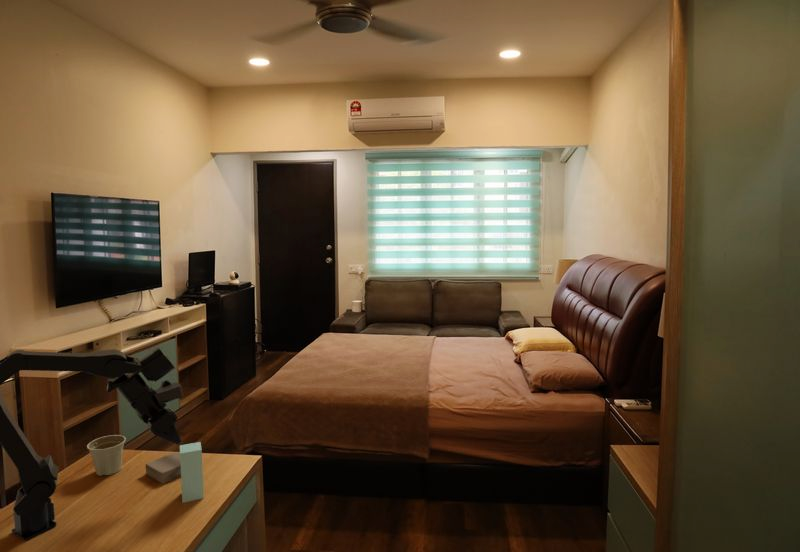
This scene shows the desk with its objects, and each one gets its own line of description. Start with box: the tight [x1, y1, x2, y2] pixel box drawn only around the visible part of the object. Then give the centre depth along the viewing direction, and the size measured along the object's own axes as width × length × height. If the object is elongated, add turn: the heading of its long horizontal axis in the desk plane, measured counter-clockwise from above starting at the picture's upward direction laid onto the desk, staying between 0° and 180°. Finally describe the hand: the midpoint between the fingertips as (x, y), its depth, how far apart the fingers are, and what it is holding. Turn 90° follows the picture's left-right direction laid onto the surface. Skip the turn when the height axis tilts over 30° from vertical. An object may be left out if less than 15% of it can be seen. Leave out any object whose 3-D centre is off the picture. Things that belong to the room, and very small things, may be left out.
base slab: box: [145, 451, 181, 484], centre depth 138 cm, size 9×9×3 cm
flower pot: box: [86, 434, 127, 477], centre depth 138 cm, size 9×9×9 cm
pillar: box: [179, 441, 205, 504], centre depth 125 cm, size 5×5×13 cm
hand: (174, 437), depth 127 cm, fingers open, 9 cm apart
